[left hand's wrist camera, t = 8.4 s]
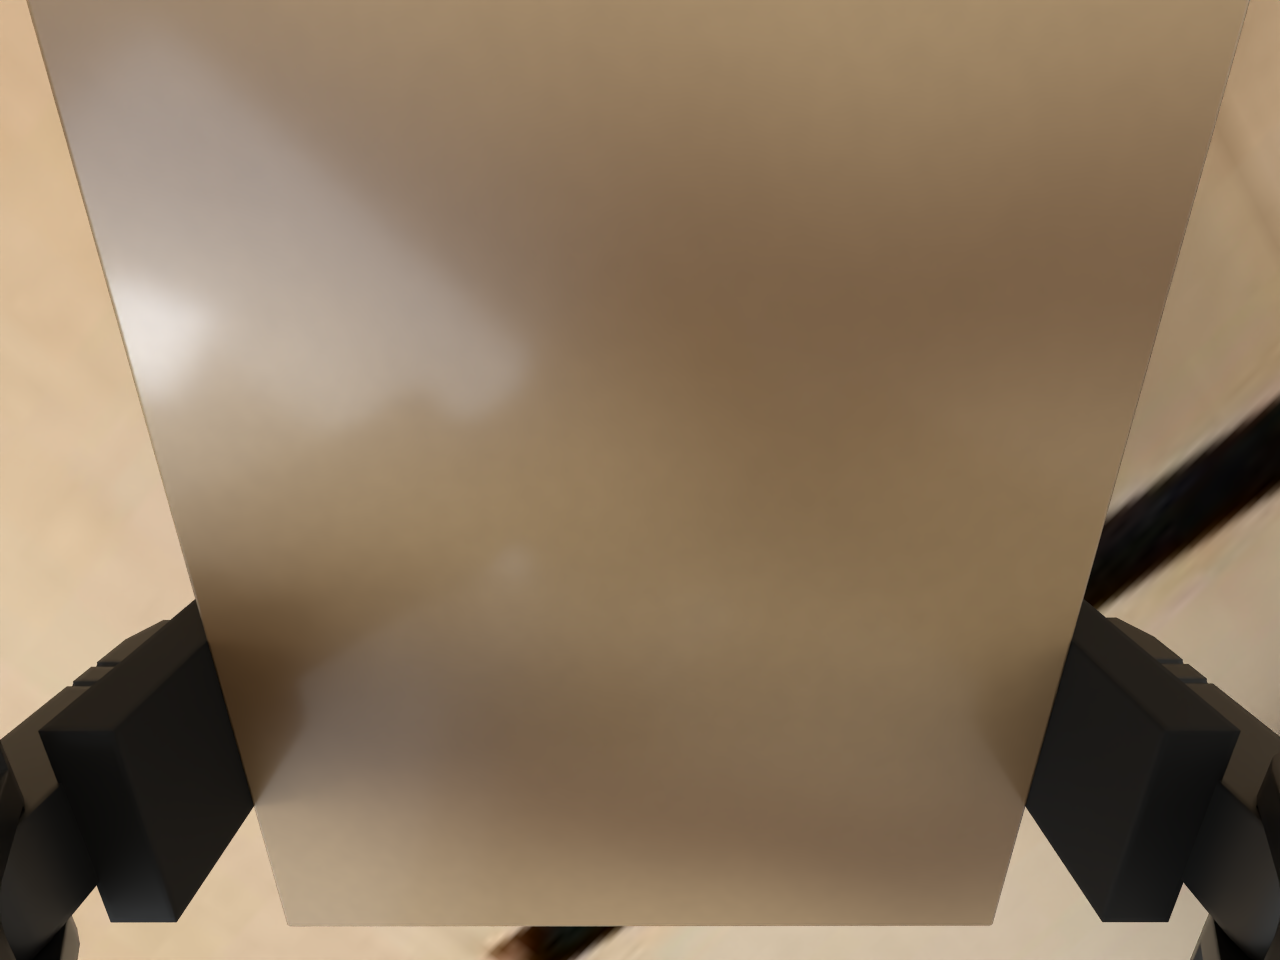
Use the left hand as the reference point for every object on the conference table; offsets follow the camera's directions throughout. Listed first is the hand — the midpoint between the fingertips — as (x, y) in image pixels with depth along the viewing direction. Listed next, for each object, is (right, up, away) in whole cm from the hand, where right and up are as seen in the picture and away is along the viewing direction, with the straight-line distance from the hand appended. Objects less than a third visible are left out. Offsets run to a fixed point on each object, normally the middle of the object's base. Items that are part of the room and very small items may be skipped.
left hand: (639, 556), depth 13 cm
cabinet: (0, +8, +3) cm, 8 cm away
